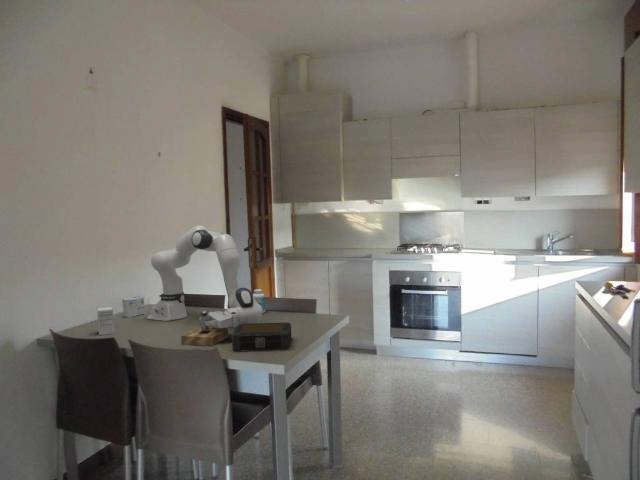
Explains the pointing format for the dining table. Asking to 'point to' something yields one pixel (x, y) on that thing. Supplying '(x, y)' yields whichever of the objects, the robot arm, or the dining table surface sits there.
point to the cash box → (262, 336)
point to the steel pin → (203, 319)
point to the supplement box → (105, 320)
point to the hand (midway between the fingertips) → (202, 321)
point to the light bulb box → (133, 306)
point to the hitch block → (204, 337)
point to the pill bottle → (259, 298)
